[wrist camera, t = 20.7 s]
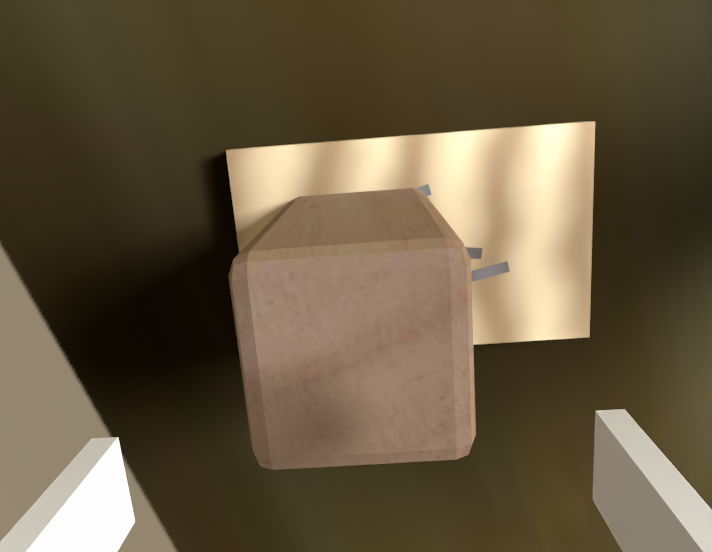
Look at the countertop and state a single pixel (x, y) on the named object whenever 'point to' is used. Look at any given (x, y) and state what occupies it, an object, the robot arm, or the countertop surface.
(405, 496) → the countertop surface
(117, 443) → the robot arm
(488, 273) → the board
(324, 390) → the block
